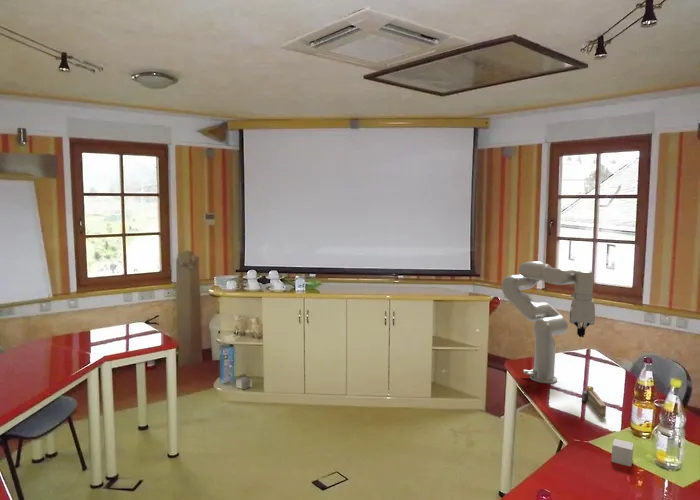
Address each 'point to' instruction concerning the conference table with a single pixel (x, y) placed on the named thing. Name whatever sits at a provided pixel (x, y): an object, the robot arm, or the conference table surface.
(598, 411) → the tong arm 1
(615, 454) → the grey cube
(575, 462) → the conference table surface
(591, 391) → the lock button
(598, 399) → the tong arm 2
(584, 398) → the tong hinge
